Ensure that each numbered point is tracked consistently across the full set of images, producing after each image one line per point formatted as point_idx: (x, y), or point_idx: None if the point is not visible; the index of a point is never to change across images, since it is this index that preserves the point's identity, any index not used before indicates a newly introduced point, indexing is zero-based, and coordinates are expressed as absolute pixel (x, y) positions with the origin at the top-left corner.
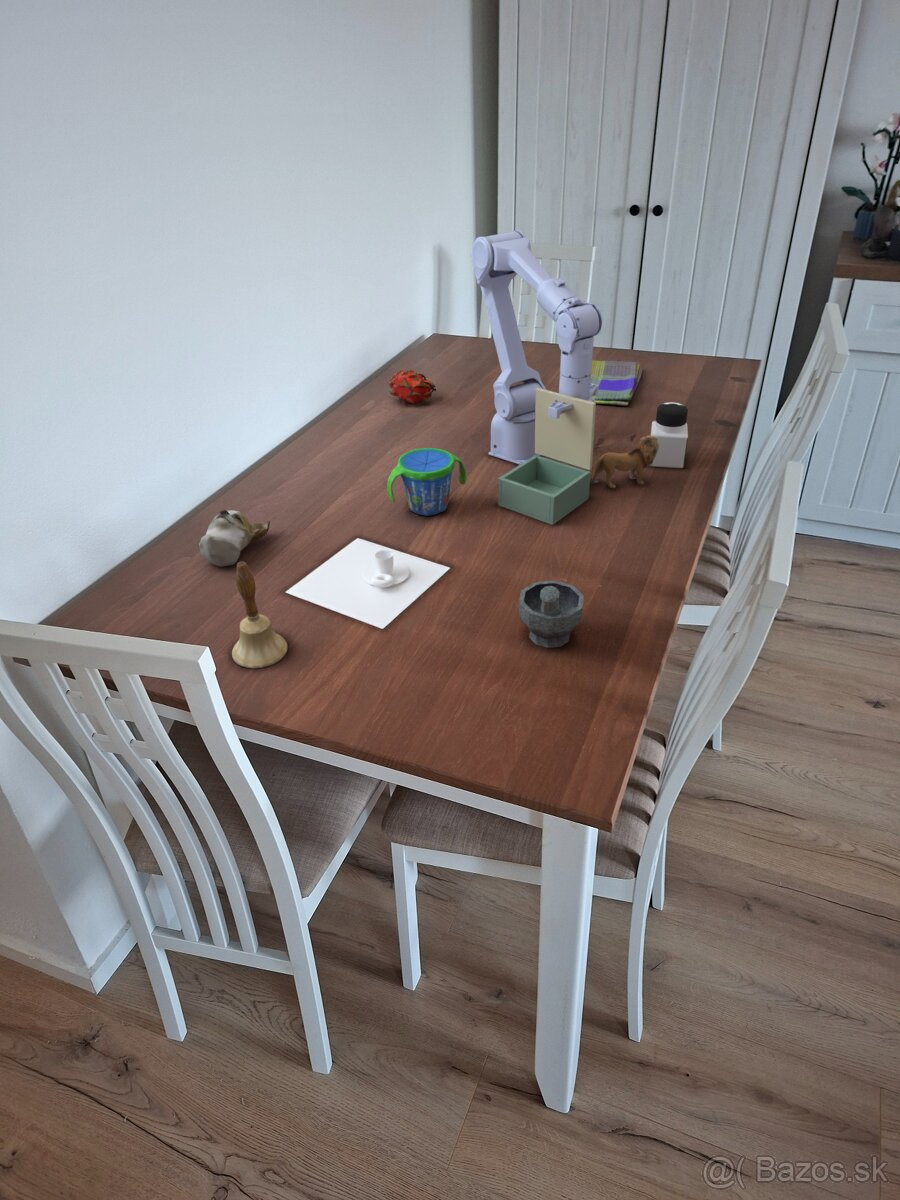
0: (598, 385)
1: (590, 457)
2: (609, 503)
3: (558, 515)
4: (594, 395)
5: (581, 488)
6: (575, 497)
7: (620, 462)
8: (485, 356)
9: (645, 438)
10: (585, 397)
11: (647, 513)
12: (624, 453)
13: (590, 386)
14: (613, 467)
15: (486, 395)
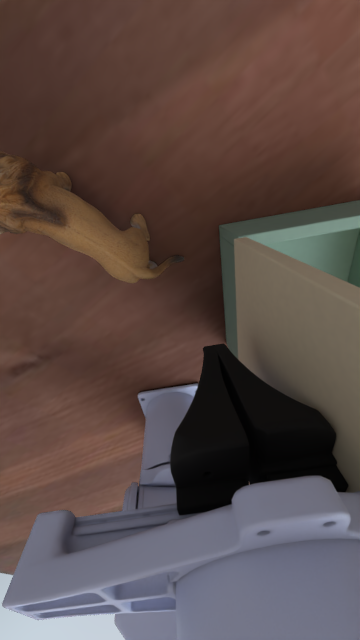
0: (3, 602)
1: (264, 246)
2: (204, 168)
3: (357, 202)
4: (68, 514)
5: (271, 223)
6: (291, 217)
7: (107, 223)
8: (20, 553)
9: None
10: (336, 577)
11: (176, 16)
12: (73, 236)
13: (72, 606)
14: (133, 230)
15: (83, 510)
